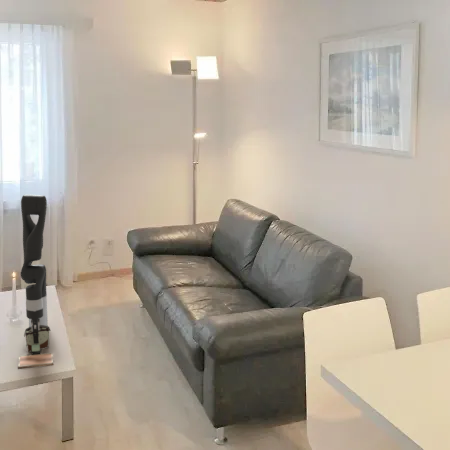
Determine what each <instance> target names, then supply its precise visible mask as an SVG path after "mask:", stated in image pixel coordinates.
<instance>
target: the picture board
mask: <svg viewBox="0 0 450 450" xmlns="http://www.w3.org/2000/svg"><path fill="white" fill-rule="evenodd" d="M17 362H18V365H17V369H18V370H19V369H27V368H29V369H30V368H37V367H38V368H39V367H47V366H54V353H53V352H45V353H41V354H36V355H31V354H28V355H27V354H26V355H19V356H18V360H17Z"/></svg>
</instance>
